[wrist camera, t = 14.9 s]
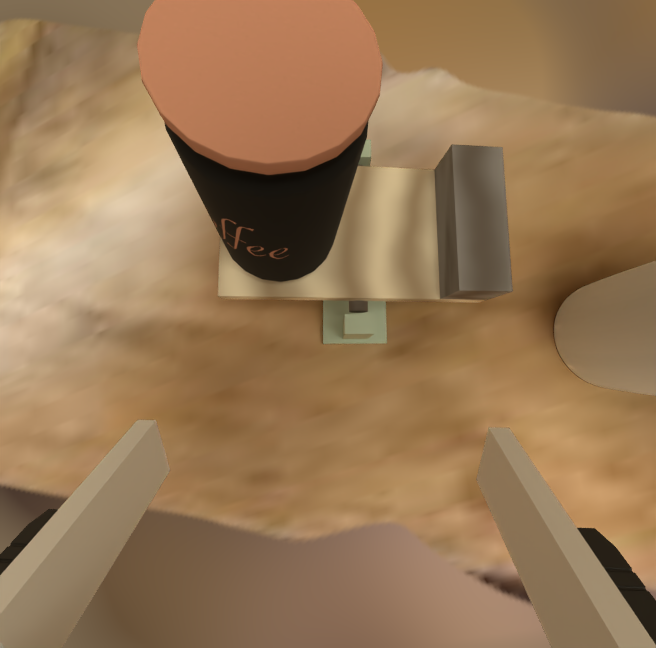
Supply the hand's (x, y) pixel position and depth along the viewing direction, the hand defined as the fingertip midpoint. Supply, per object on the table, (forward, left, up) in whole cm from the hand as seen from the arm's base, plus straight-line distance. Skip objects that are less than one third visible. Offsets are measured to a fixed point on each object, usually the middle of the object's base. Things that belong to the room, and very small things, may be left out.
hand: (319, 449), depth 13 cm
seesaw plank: (-3, -17, -21) cm, 27 cm away
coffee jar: (+5, -16, -17) cm, 24 cm away
